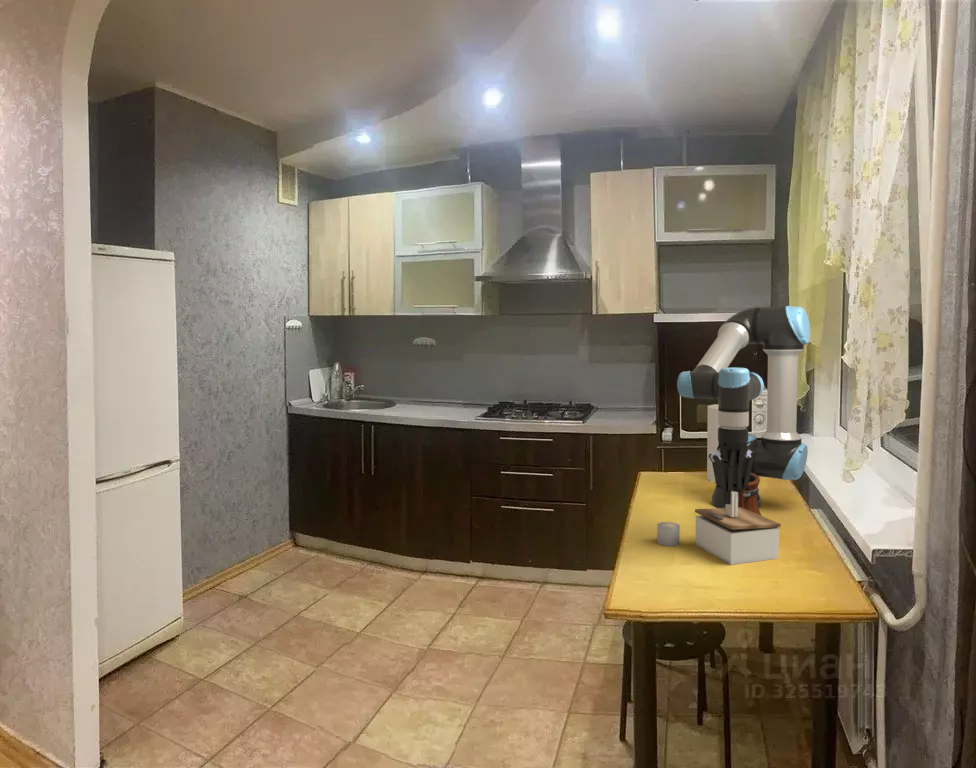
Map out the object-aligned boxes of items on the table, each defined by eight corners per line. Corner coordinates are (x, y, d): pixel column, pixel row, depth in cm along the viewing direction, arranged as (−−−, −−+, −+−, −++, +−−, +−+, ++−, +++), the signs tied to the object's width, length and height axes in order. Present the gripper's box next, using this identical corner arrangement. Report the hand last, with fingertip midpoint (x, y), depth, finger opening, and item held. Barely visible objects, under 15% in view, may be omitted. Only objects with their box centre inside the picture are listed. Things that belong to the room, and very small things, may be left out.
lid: (740, 510, 188) (740, 505, 188) (780, 527, 172) (780, 521, 172) (694, 512, 184) (695, 507, 184) (731, 529, 168) (731, 524, 168)
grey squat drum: (672, 538, 191) (672, 520, 190) (683, 544, 185) (683, 526, 184) (653, 540, 189) (653, 522, 189) (664, 547, 183) (664, 529, 183)
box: (739, 539, 188) (740, 511, 188) (778, 558, 173) (778, 528, 172) (695, 544, 185) (695, 516, 184) (730, 564, 169) (731, 533, 169)
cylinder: (699, 481, 255) (700, 408, 252) (717, 472, 268) (717, 402, 266) (745, 487, 244) (746, 411, 241) (761, 478, 257) (762, 405, 254)
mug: (760, 537, 189) (761, 485, 188) (717, 532, 195) (718, 481, 193) (765, 520, 205) (766, 471, 204) (726, 515, 211) (726, 468, 209)
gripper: (746, 423, 181) (744, 509, 183) (702, 426, 177) (701, 514, 179) (764, 427, 173) (762, 517, 176) (719, 430, 170) (717, 521, 172)
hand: (731, 515), depth 177 cm, fingers closed
